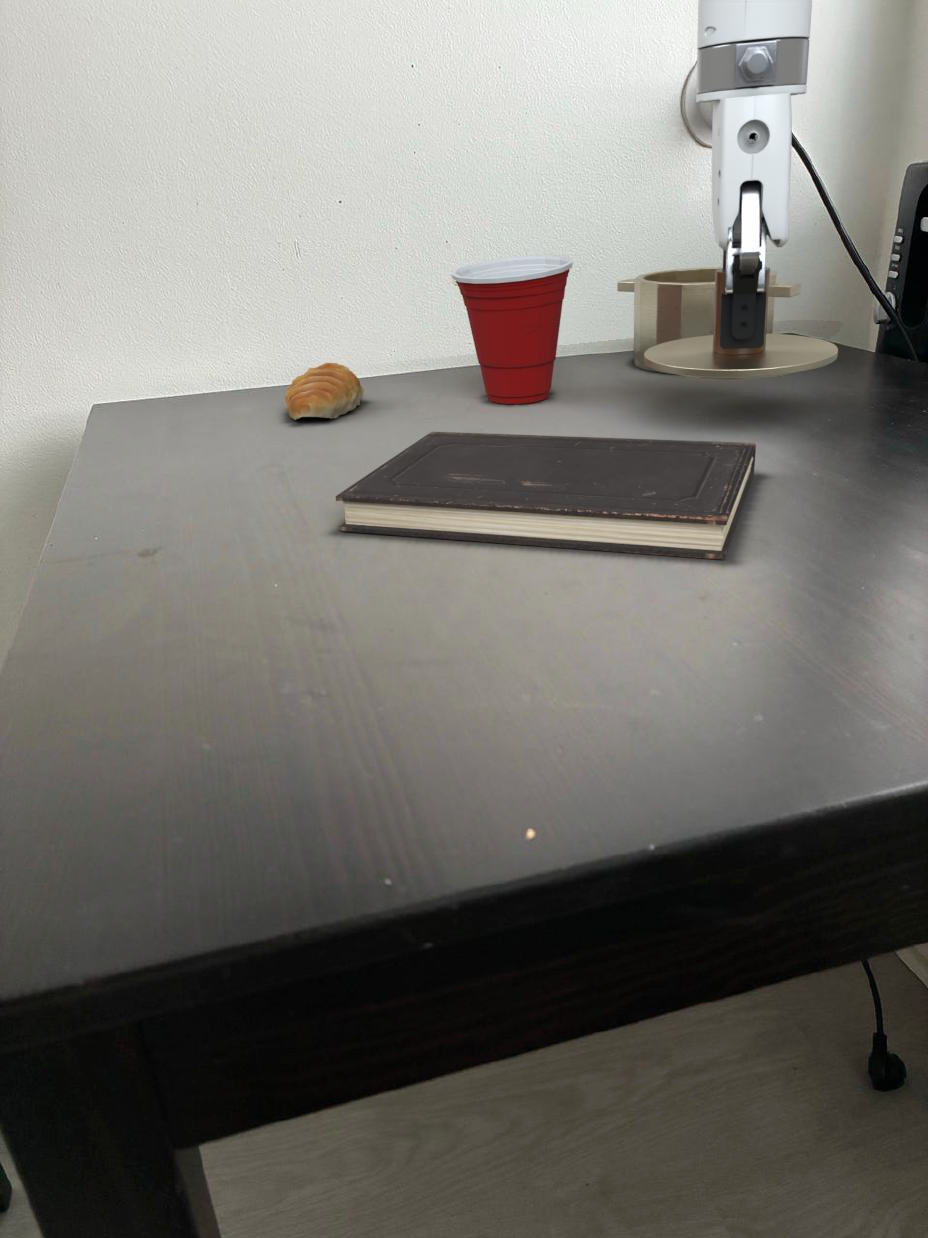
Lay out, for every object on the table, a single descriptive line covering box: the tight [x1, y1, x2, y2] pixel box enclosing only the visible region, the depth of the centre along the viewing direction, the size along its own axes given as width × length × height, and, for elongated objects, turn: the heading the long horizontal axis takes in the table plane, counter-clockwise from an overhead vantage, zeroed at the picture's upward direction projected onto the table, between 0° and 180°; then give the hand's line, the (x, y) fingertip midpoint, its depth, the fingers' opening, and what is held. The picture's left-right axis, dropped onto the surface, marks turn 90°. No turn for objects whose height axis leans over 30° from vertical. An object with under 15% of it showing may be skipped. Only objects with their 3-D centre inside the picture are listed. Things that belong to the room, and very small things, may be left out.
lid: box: [644, 266, 839, 381], centre depth 77 cm, size 15×15×7 cm
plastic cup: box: [450, 254, 574, 405], centre depth 90 cm, size 11×11×12 cm
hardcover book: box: [335, 431, 757, 561], centre depth 63 cm, size 16×23×2 cm
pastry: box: [284, 362, 365, 421], centre depth 90 cm, size 9×7×4 cm
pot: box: [616, 266, 802, 375], centre depth 101 cm, size 14×19×8 cm
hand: (739, 339), depth 77 cm, fingers closed on lid, 4 cm apart
